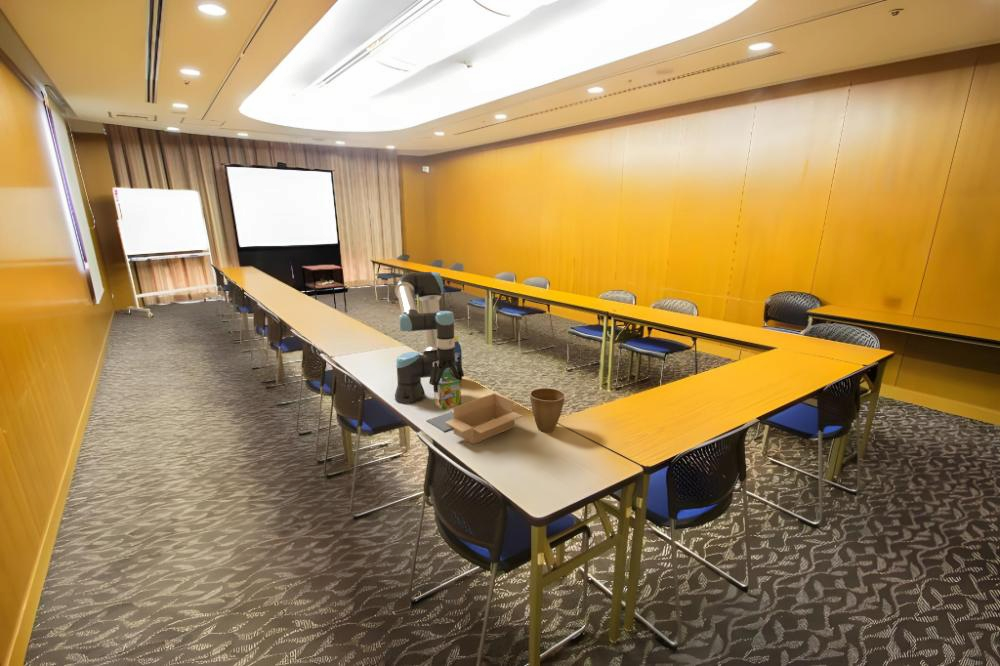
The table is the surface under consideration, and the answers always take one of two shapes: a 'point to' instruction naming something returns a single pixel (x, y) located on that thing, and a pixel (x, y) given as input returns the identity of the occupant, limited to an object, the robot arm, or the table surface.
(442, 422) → the mat
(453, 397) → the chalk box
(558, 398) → the plant pot
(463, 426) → the carton
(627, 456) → the table surface
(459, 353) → the blue food package
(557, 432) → the table surface
